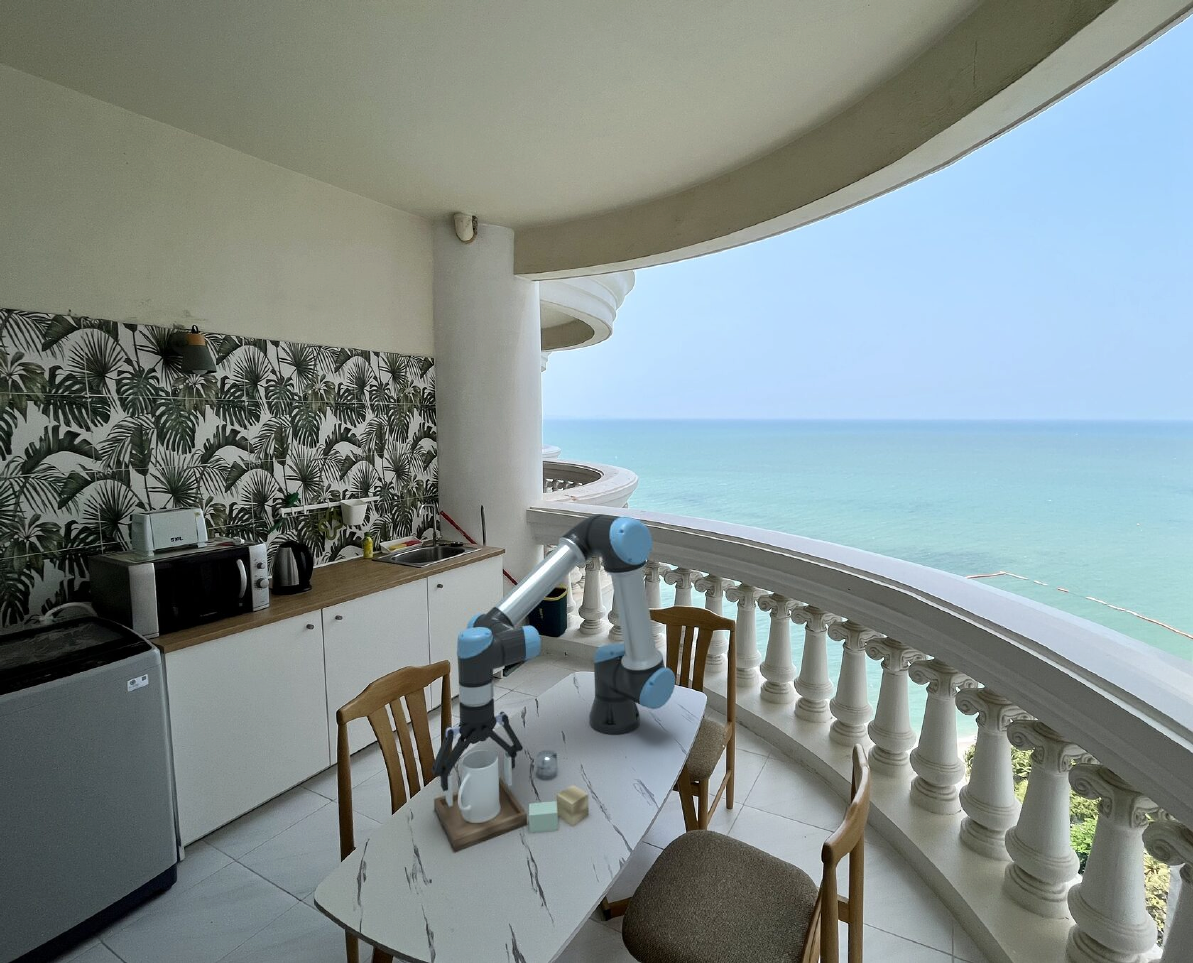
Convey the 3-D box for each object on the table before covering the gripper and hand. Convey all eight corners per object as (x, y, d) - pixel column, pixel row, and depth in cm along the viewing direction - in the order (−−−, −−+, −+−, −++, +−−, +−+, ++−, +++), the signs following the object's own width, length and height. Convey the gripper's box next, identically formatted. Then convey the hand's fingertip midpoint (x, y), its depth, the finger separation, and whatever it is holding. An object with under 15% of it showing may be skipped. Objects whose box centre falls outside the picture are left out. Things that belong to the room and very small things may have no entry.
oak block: (573, 805, 128) (572, 784, 128) (588, 815, 124) (588, 793, 124) (557, 816, 124) (556, 794, 124) (572, 826, 121) (572, 804, 121)
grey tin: (551, 766, 144) (551, 748, 144) (560, 776, 140) (560, 757, 139) (534, 772, 141) (533, 753, 141) (542, 782, 137) (542, 762, 137)
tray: (500, 787, 135) (500, 777, 135) (527, 824, 121) (526, 813, 121) (434, 809, 127) (434, 799, 127) (454, 852, 113) (454, 840, 113)
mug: (472, 837, 116) (470, 782, 115) (442, 824, 120) (440, 770, 120) (508, 806, 126) (507, 754, 126) (479, 795, 131) (478, 745, 130)
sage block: (556, 818, 124) (556, 801, 123) (557, 830, 120) (557, 812, 119) (529, 821, 123) (529, 803, 123) (529, 833, 119) (529, 815, 119)
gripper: (522, 680, 132) (524, 767, 134) (414, 707, 120) (418, 802, 121) (535, 692, 126) (537, 783, 127) (423, 721, 113) (427, 821, 115)
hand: (479, 792), depth 124 cm, fingers open, 13 cm apart
